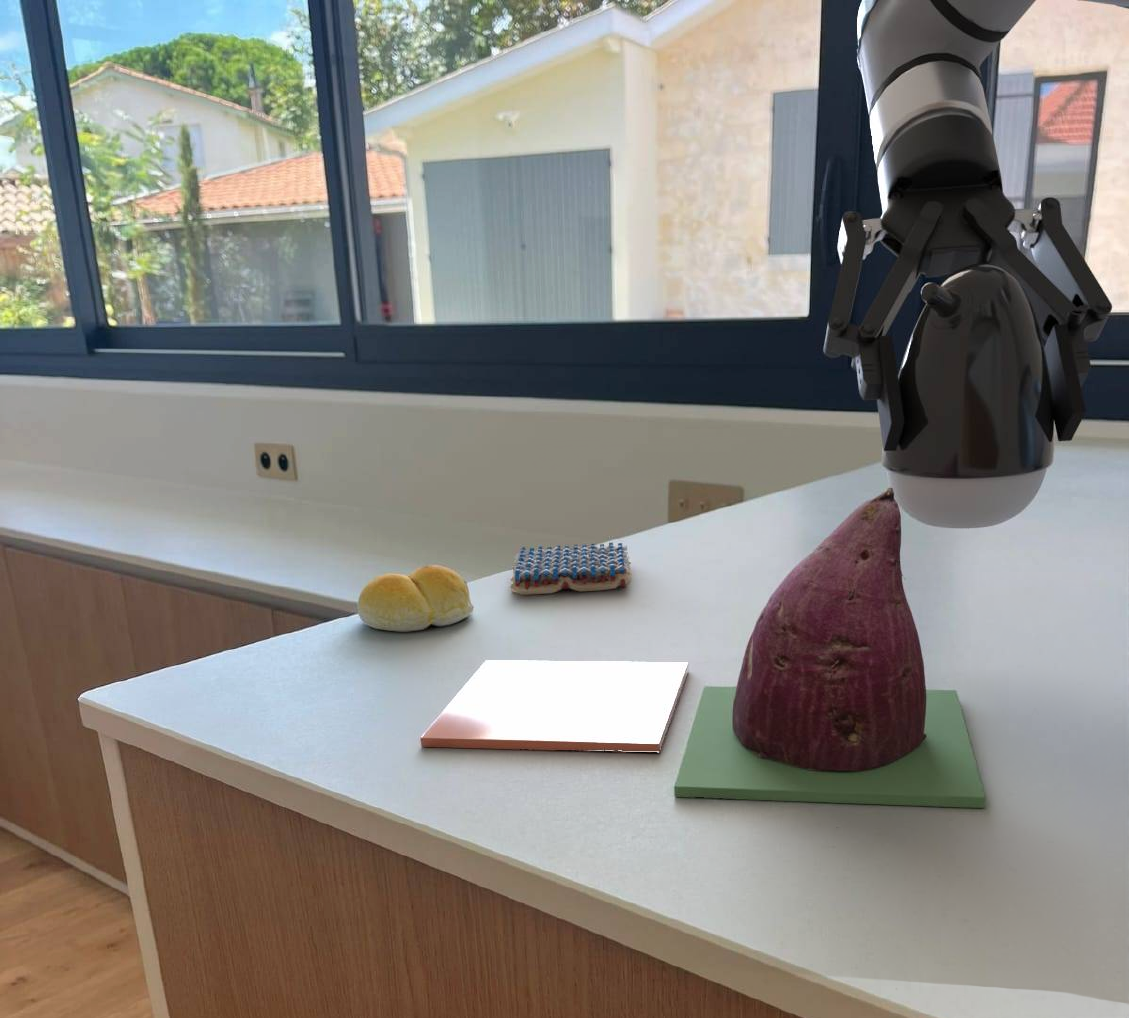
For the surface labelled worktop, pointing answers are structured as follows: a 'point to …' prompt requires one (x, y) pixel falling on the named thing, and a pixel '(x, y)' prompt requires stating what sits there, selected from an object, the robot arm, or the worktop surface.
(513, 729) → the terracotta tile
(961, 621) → the worktop surface
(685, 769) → the green mat
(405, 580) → the bread roll
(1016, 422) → the pump dispenser
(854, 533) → the vegetable
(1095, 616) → the worktop surface
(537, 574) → the woven mat
